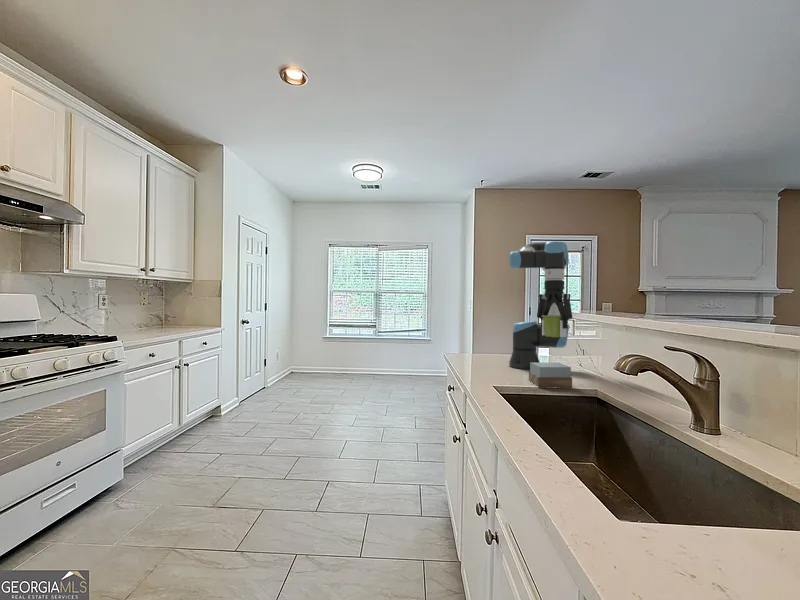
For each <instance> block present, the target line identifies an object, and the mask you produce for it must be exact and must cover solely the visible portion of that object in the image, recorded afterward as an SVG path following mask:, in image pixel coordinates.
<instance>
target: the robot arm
mask: <svg viewBox="0 0 800 600" xmlns="http://www.w3.org/2000/svg"><path fill="white" fill-rule="evenodd" d="M569 261H570V258H569V251H568V245H567V243H566V242H563V241H549V242H532V243H528V244H526V245H523V246H521V247H520V248H518V250H515V251H511V252H510V253H509V266H510V268H511V269H516V270H517V269H534V268H535V269H541V270H542V271H544V286H543V287H544V288H543V289H544V293H541V294H540V293H539V295H538V300H539V301H538V307H537V313H536V317H537V318H538V319H540V323H538V321H536V320H531V321H522V322H516V323H514V324H513V327H512V353H511V356H510V359H509V362H508V367H510V368H514V369H522V370H530V362H533V363H541V362H540V359H539V356H538V353H537V348H555V349H557V348H559V349H560V348H565V347H567V343H568V342H567V341H568V336H569V329H570V325H569V323H568V322H569V320H570V319H571V320H572V319H573V311H572V307H571V294H570V293H565V292H564V289H565V281H564V279H565V269H566V268H567V267H566V266H568V265H569V263H570V262H569ZM542 315H545V316H546V315H559V316H561V318H562V319H561V320H560V337H551V336H550V337H547V336H546V334H545V326H544V320H543V316H542Z"/></svg>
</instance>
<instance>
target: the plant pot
mask: <svg viewBox="0 0 800 600" xmlns="http://www.w3.org/2000/svg"><path fill="white" fill-rule="evenodd" d="M542 316H543V320H544V326H545V334H546V336H547V337H550V336H551V337H560V320H561V319H562V318H561V316H559V315H546V316H545V315H542Z"/></svg>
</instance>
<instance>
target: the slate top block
mask: <svg viewBox="0 0 800 600" xmlns="http://www.w3.org/2000/svg"><path fill="white" fill-rule="evenodd" d="M529 372H531V373H533V374H535V375H537V376H538V377H561V378H572V376H571V375H572V368H571V366H568V365H566V364H563V363H561V362H540V363H533V362H530V369H529Z"/></svg>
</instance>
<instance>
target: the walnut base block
mask: <svg viewBox="0 0 800 600" xmlns="http://www.w3.org/2000/svg"><path fill="white" fill-rule="evenodd" d="M529 381H530V383H531V382H532V383H533V384H532V383H531V384H532V385H534V384H535V385H536V386H538V387H557V388H556V389H573V377H571V378H561V377H538V376H537V375H535V374H533V373H531V372H530V371H528V382H529ZM535 385H534V386H535ZM536 386H535V387H536ZM538 387H537V388H538ZM559 387H560V388H559Z"/></svg>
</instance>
